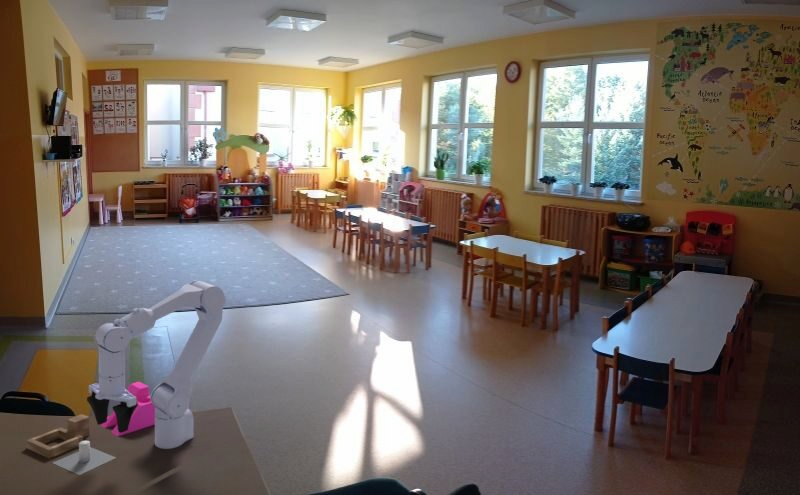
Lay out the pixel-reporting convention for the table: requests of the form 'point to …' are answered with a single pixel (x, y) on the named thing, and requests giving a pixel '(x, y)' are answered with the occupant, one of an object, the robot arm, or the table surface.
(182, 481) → the table surface
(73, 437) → the walnut link
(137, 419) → the bracket
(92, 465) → the peg stand
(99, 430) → the table surface
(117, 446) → the table surface
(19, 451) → the table surface
